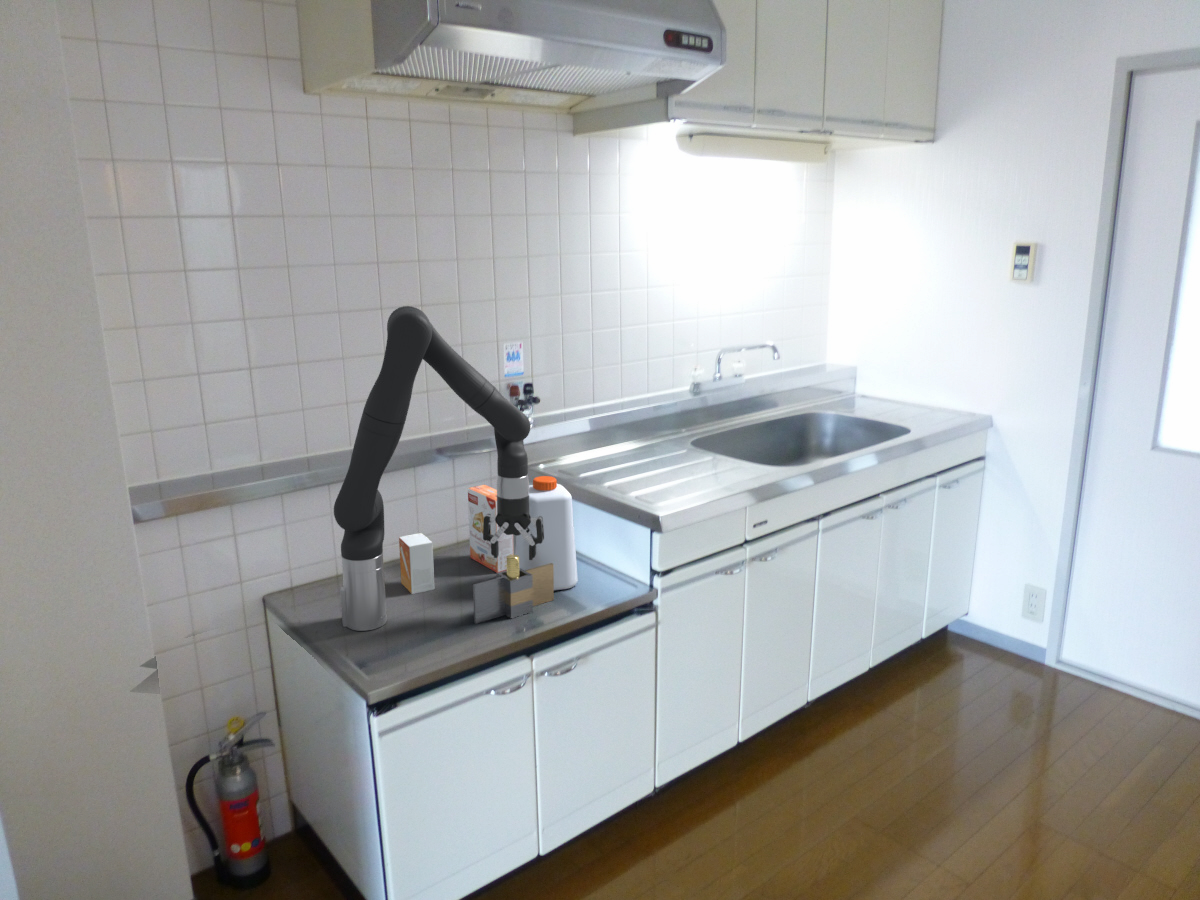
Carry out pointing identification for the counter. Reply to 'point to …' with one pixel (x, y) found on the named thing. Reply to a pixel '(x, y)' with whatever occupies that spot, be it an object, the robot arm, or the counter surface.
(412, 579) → the small box
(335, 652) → the counter surface
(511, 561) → the hinge pin
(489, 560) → the cracker box
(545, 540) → the plastic bottle
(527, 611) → the hinge
